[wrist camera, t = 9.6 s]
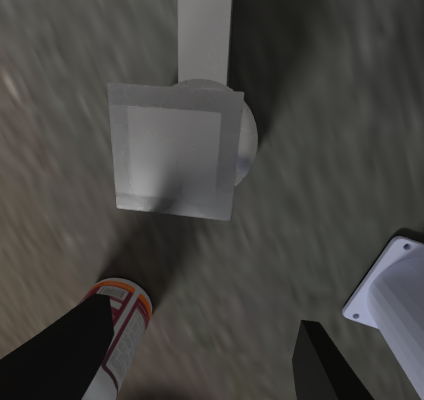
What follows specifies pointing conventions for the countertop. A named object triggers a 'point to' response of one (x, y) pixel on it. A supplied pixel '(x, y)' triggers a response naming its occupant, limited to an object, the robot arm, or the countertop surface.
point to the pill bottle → (120, 334)
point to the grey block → (175, 149)
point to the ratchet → (212, 63)
